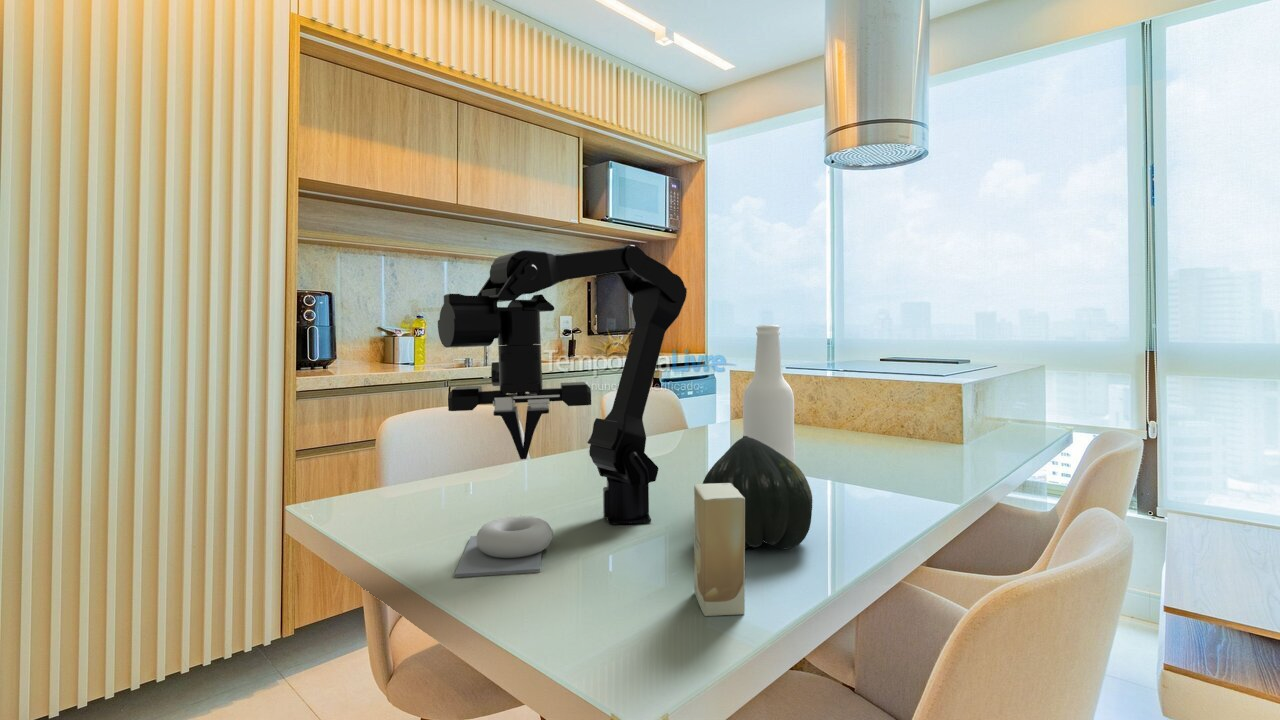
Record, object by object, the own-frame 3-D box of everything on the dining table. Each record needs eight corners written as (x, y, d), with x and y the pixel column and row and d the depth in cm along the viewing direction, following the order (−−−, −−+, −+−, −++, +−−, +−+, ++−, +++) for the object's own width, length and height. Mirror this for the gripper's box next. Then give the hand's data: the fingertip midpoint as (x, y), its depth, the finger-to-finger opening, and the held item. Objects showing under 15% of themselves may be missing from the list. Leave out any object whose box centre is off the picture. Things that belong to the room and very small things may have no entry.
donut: (520, 539, 75) (458, 529, 80) (521, 567, 75) (459, 555, 80) (567, 517, 84) (509, 509, 88) (567, 542, 84) (510, 533, 89)
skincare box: (693, 592, 68) (692, 482, 68) (731, 590, 69) (731, 481, 68) (704, 618, 62) (703, 497, 61) (746, 616, 62) (745, 496, 62)
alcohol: (794, 490, 112) (793, 325, 111) (794, 503, 103) (794, 324, 102) (744, 488, 114) (744, 326, 113) (741, 501, 105) (740, 325, 104)
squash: (810, 529, 73) (808, 422, 82) (686, 524, 77) (697, 423, 86) (815, 574, 83) (813, 475, 92) (705, 568, 87) (714, 474, 97)
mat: (542, 535, 88) (542, 532, 88) (540, 572, 75) (539, 568, 75) (471, 539, 87) (470, 536, 87) (454, 577, 73) (454, 574, 73)
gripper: (583, 342, 94) (586, 444, 94) (456, 345, 90) (460, 451, 91) (590, 343, 83) (593, 459, 83) (445, 347, 80) (450, 467, 80)
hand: (523, 458), depth 85 cm, fingers closed
